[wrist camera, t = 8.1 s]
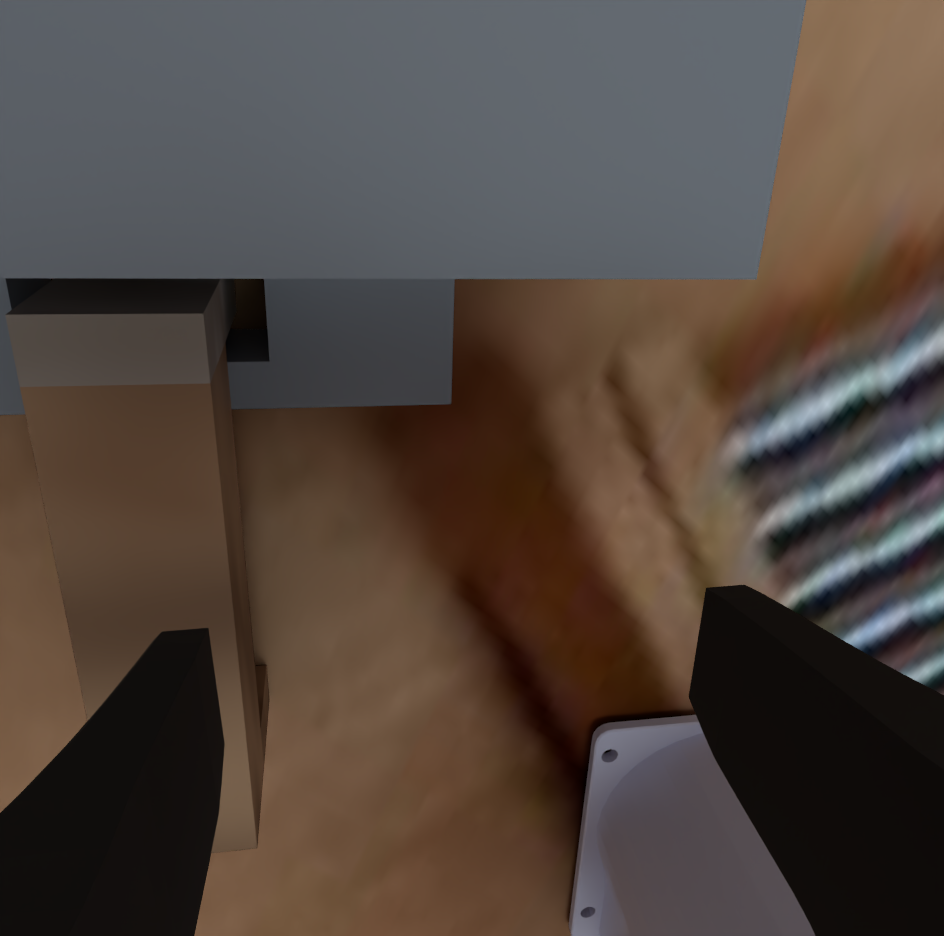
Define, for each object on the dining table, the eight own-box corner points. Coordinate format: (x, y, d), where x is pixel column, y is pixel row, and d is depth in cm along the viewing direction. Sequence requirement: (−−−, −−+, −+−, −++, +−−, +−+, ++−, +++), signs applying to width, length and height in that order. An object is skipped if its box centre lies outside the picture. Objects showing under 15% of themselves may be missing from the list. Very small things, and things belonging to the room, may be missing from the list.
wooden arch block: (269, 699, 23) (257, 848, 19) (156, 708, 23) (116, 863, 18) (232, 256, 18) (203, 313, 13) (85, 255, 17) (4, 314, 13)
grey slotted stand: (596, 365, 20) (718, 489, 14) (-328, 380, 17) (-701, 550, 11) (633, 5, 17) (812, -38, 11) (-499, -61, 14) (-1167, -179, 8)
